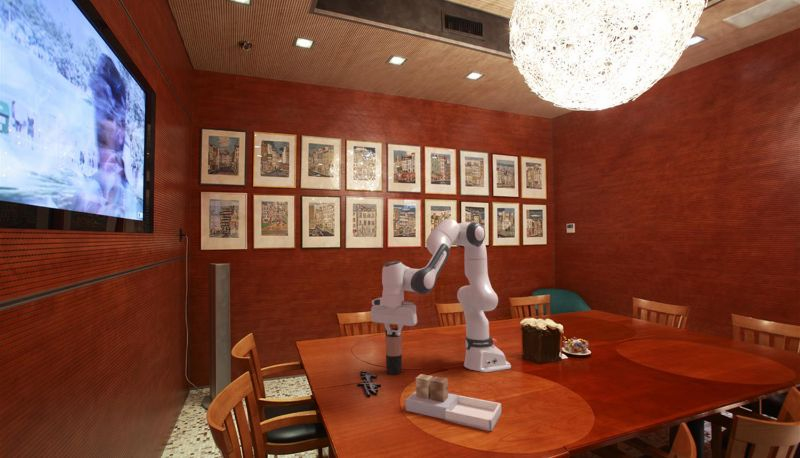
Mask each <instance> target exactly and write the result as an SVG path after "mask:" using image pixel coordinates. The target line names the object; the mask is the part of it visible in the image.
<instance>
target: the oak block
mask: <svg viewBox="0 0 800 458" xmlns="http://www.w3.org/2000/svg"><path fill="white" fill-rule="evenodd" d="M433 378H434V376H433V375H428V374H422V373H421V374H419V375H418V376H416V377H415V391H416V397H419V398H424V399H429V398H430V397H431V383H430V381H431V380H432V379H433Z"/></svg>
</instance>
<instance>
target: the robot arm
mask: <svg viewBox="0 0 800 458" xmlns="http://www.w3.org/2000/svg"><path fill="white" fill-rule="evenodd" d="M485 238H486V231H485V228H484V226H483V224H481V223H479V222H459V223H458V222H457V221H456V220H454V219H452V218H446V219H444V220H443V221H441V222H440V223H438V225H437V226H436V227H434V228H433V230H432V231H431V232H430V234H428V236H427V238H426V239H425V245H426V246H425V247H426V248H427V250H428V251H429V253H430V254H431V255H432V256H431V258H430V260H429V261H428V263H427V265H426V266H424V267H422V268H411V267H409V266H406V265H405V264H404V263H402V261H400V260H393V261H391V260H390V261H388V262H386V263H384V265H383V267H382V270H381V271H382V272H381V273H382V274H381V276H382V277H381V281H382V282H381V283H382V293H381V295H382V296H379V297H378V298H375V299H372V300H371V304H372V306H371V310H370V320H371V322H372V323H377V324H378V323H379V324H383V325H384V328H385V331H386V330H387V334H388V335H391V334H392V330H391V329H392V328H391V327H390V325H397V328H398V330H397V331H395V333H396V335H397V336H400V335H401V336H402V330H403V327H404V326H406V327H407V326H408V327H413V326H416V325H417V324H418V317H417V305H416V304H415V303H414V302H411V301H405V292H404V291H407V292H413V293H416V294H417V293H418V294H420V295H427V294H429V293H431V292H432V290H433V289H434V287H435V284H436V281H437V278H438V276H439V275H440V273H441V271H442V269H443V267H444V266H445V263H446V262H447V261H448V258H449V255H450V253H451V251H450V249H451V248H452V246H463V247H464V257H463V258H464V275H465V278H467V280H468V282H469V285H464V286H461V287H460V288H459V289H458V290H457V293H456V295H457V296H456V298H457V300H458V302H459V303H460V305H461V308H462V311H463V312H462V313H463V315H464V318H465V331H466V333H465V335H466V336H465V342H464V343H465V348H466V351H465V358H464V363H463V366H464V367H465V368H466V369H468V370H471V371H475V372H476V371H477V372H481V373H490V372H498V371H503V370H504V371H505V370H509V369H511V368H512V365H511V363H510V362H509V361H508V360H506V355H505V354H504V352H503V351H502V350H501V349H499V347H497V346H496V345H495V344H496V343H497V339H495V338H492V337H491V336H490V323H489V319H488V318H487V317H486V314H485V312H491V311H493V310H495V309H496V308H497V306H498V304H499V297H498V294H497V293H496V292H495V290H494V289H493V288H492V284H491V281H490V278H489V271H488V270H489V269H488V255H487V247H486V242H485Z"/></svg>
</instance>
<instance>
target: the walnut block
mask: <svg viewBox="0 0 800 458" xmlns="http://www.w3.org/2000/svg"><path fill="white" fill-rule="evenodd" d="M448 380H449V378H447V377H446V378H445V377H440V376H433V379H432V380H431V381H430V383H431V400H434V401H439V402H444V401H445V400H446V399H447V398H448V393H449V381H448Z"/></svg>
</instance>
